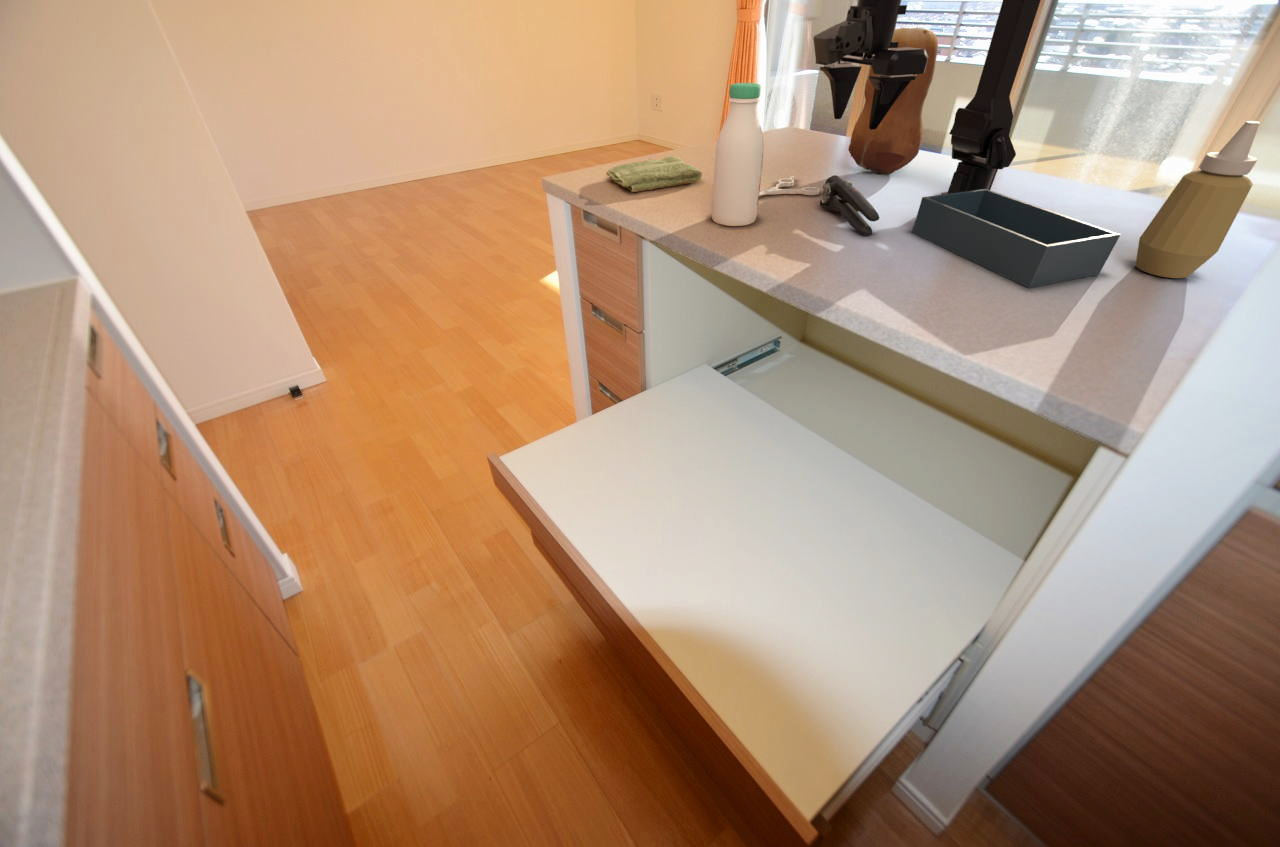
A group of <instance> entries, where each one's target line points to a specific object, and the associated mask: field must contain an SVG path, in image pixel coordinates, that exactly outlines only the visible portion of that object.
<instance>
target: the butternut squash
mask: <svg viewBox="0 0 1280 847" xmlns="http://www.w3.org/2000/svg"><path fill="white" fill-rule="evenodd" d="M893 41H895V42H899V43H898V48H904V47H911V48H920V49H925V50H926V53H927V55H928V60H927V64H926V68H925V72H924V74H913V75H916V76H917V77H916V80H912V81H911V82H910V83H909V84H908V86H907V87H906V88H905V89H904V91H903V92H902V93H901V94H900V96H899V97H898V98H897V100H896V101H895V103H894V104H893V105H892V107H891V108H890V110H889V111H888V113H887V114H886V116H885V117H884V118H883V120H882V121H881V123H880V124H879V126H878V127H877V129H875V130H870V129H869V121H870V113H871V107H872V100H873V94H874V87H873V85H872V83H871V81H870V79H869V76H878V75H879V74H874V72H873V69H872V66H871V65H869V71H868V76H867V79H866V82H865V84H864V98H865V103H864V105H863V107H862V111H861V112H860V114H859V116H858V118H857V120H856V122H855V124H854V127H853V130H852V132H851V137H850V143H849V145H848V149H847V150H848V153H849V154H850V157H851V158H852V159H853V161H854V162H855V164H856V165H857V166H858V167H860V168H862V169H864V170H866V171H867V170H868V171H871V172H872V173H874V174H878V175H892V174H893V173H894V172H897V171H899V170H901V169H902V168H904V167H905V166H907V165H909V164H910V163H911V162H913V160H915V158H916V157H917V156H918V154H919V152H920V149H921V145H922V143H923V139H924V138H923V137H924V126H923V108H924V104H925V101H926V98H927V95H928V93H929V90H930V87H931V84H932V81H933V78H934V74H935V70H936V62H937V57H938V51H939V50H938V49H939V41H938V37H937V35H936V34H935V33H934V32H933V31H932V30H930V29H926V28H924V27H923V28H922V27H911V28H910V27H901V28H895V32H894V36H893ZM872 59H873V58H872Z"/></svg>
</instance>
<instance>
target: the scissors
mask: <svg viewBox="0 0 1280 847" xmlns="http://www.w3.org/2000/svg"><path fill="white" fill-rule="evenodd" d="M794 184H795V176H794V175H790V177H788V178H787V177H786V178H779V179H778V180H777V183H776V184H775V186H772V187H768V188H767V189H765V190H762V191H759V197H761V196H764V195H766V196H768V195H781V194H784V195H785V194H788V195H795V194H799V195H805V196H815V195H819V194H820V192H821V188H819V187H815V186H803V187H801V188H797V189H789V188H787V189H785V188H783V187H793V186H794Z"/></svg>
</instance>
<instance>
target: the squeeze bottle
mask: <svg viewBox="0 0 1280 847" xmlns="http://www.w3.org/2000/svg"><path fill="white" fill-rule="evenodd" d="M1260 123H1261V122H1260V121H1257V120H1256V121H1255V120H1246V121H1245V122H1244V124H1243V125H1242V126H1241V127H1239V129H1238V130H1237V131H1236V132H1235V134H1233V136H1232V137H1231V138H1230V139H1229V140H1228V142H1226V144H1225V145H1224V146H1223V147H1222V149H1220V151H1219V152H1218V151H1213V152H1212V151H1211V152H1208V153H1206V154H1205V156H1204V158H1202V161H1201V163H1200V164H1199V166H1198V168H1199V169H1197V170H1193V171H1190V172H1187V173H1185V174H1184V175H1183V176H1182V177H1181V179H1180V180H1179V182H1178V183H1177V184H1176V186H1175V187H1174V188H1173V190H1172V191H1171V193H1170V194H1169V195H1168V197H1167V199H1166V200H1165V201H1164V202H1163V204H1162V205H1161V207H1160V209H1159V210H1158V212H1157V213H1156V214H1155V215H1154V217H1153V218H1152V220H1151V221H1150V223H1149V224H1148V226H1147V227H1146V228H1145V230H1144V231H1143V233H1142V234H1141V236H1140V237H1139V240H1138V246H1137V253H1136V260H1135V267H1136V268H1137V269H1139V270H1140V271H1142V272H1145V273H1147V274H1150V275H1154V276H1157V277H1161V278H1162V277H1163V278H1169V279H1184V278H1185V279H1186V278H1189V276H1190V275H1192V274H1193V273H1195V272H1196V271H1197V270H1198V269H1199V268H1200V267H1202V266H1203V265H1204V264H1205V263H1206V262H1207V261H1209V260H1210V259H1211V258H1212V257H1213V256H1215V255H1216V254H1217V253H1218V252H1219V250H1220V248H1221V246H1222V244H1223V243H1224V240H1225V238H1226V237H1227V235H1228V233H1229V231H1230V230H1231V228H1232V225H1233V223H1234V221H1235V220H1236V218H1237V216H1238V214H1239V212H1240V211H1241V208H1242V206H1243V204H1244V202H1245V200H1246V199H1247V197H1248V194H1249V193H1250V191H1251V189H1252V188H1253V185H1254V184H1253V181H1252V180H1251V178H1249V177H1248V176H1247V175H1248V174H1250V173H1251V171H1252V170H1253V168H1254V166H1255V165H1256V163H1257V161H1258V158H1257V157H1255V156H1253V155H1249V154H1250V151H1251V148H1252V145H1253V143H1254V140H1255V137H1256V134H1257V133H1258V129H1259V126H1260Z"/></svg>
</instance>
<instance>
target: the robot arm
mask: <svg viewBox="0 0 1280 847" xmlns="http://www.w3.org/2000/svg"><path fill="white" fill-rule="evenodd" d="M1041 1H1042V0H1002V3H1001V5H1000V10H999V13H998V16H997V19H996V23H995V26H994V30H993V33H992V36H991V40H990V43H989V47H988V50H987V52H986V53H987V54H986V57H985V60H984V63H983V68H982V71H981V74H980V78H979V81H978V85H977V88H976V91H975V93H974V96H973V98H972V99H971V100H970V101H969V102H968V104H967V105H966V106H965V107H959V108H957V110H956V112H955V114H954V120H953V124H952V127H951V129H950V131H949V133H948V134H949V135H951V138H950V145H951V160H957V161H959V162H958V163H957V166H956V169H955V171H954V172H953V175H952V178H951V181H950V183H949V186H948V190H947V191H944V192H941V194H940V195H943V194H950V193H958V192H965V191H973V190H980V189H988V190H991V189H992V187H993V183H994V181H995V178H996V175H997V173H998V170H1004V169H1005V168H1009V167H1010V165H1011V164H1012V162H1013V161H1014V159H1015V157H1016V155H1017V153H1016V150H1015V148H1014V144H1013V143H1012V140H1011V136H1010V134H1011V129H1012V124H1013V118H1014V113H1013V109H1012V107H1013V106H1012V102H1011V98H1010V97H1011V92H1012V90H1013V86H1014V84H1015V80H1016V77H1017V74H1018V71H1019V69H1020V65H1021V62H1022V59H1023V56H1024V52H1025V50H1026V46H1027V44H1028V40H1029V37H1030V34H1031V31H1032V28H1033V25H1034V22H1035V19H1036V16H1037V14H1038V10H1039V8H1040V4H1041ZM907 8H908V4H907V5H906V4H902V0H857V3H856V5H850V6H849V9H848V10H847V14H846V18H845V20H844V21H842V22H839V23H836V24H834V25H832V26H830V27H828V28H826V29H825V30H822V31H820V32H818V33H817V34H815V35H813V38H812V39H813V47H814V48H813V49H814V58H815V64H816V65H821V66H819V71H820V72H823V74H824V75H825V76H826V77H827V79H828V80H829V85H830V91H831V92H830V93H831V100H832V101H831V102H832V110H833V118H834V120H841V119H842V117H843V115H844V113H845V111H846V109H847V106H848V104H849V101H850V99H851V96H852V94H853V91H854V88H855V87H856V86H855V85H856V83H857V80H858V78H859V75H860V72H861V70H862V66H860V65H865V66H870V65H871V66H872V69H873V72H874V74H879V75H878V76H869V79H870V81H871V83H872V85H873V87H874V94H873V100H872V107H871V113H870V121H869V129H870V130H875V129H877V127H878V126H879V124H880V123H881V121H882V120H883V118H884V117H885V116H886V114H887V113H888V111H889V110H890V108H891V107H892V105H893V104H894V103H895V101H896V100H897V98H898V97H899V96H900V94H901V93H902V92H903V91H904V89H905V88H906V87H907V86H908V84H909V83H910V82H911V81H912V80H916V77H917V76H916V75H913V74H924V72H925V68H926V64H927V60H928V55H927V53H926V50H925V49H920V48H911V47H904V48H898V43H899V42H895V41H893V36H894V32H895V29H896V27H897V23H898V19H899V15H901V16H902V15H906V13H907ZM872 58H873V59H872ZM854 64H858V65H854Z"/></svg>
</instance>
